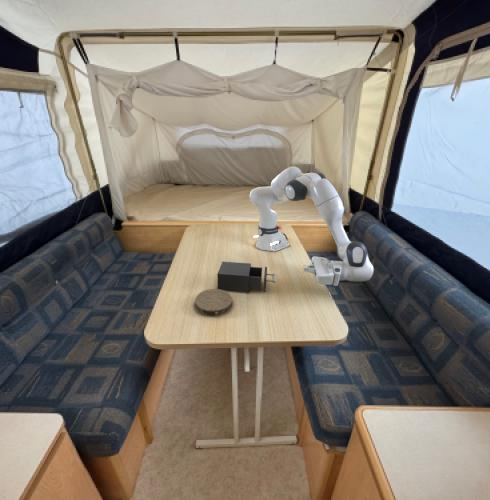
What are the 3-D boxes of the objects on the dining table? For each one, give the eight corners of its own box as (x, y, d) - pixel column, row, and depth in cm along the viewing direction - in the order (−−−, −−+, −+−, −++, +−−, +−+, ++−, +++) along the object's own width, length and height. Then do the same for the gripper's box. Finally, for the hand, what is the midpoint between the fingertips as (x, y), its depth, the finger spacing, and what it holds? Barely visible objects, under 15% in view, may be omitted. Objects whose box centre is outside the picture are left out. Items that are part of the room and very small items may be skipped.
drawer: (274, 280, 134) (275, 267, 131) (274, 292, 124) (275, 279, 121) (240, 277, 136) (240, 264, 133) (237, 289, 126) (237, 276, 123)
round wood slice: (235, 296, 122) (235, 291, 121) (226, 319, 108) (226, 313, 107) (202, 292, 125) (202, 286, 124) (189, 313, 111) (189, 307, 110)
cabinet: (250, 279, 137) (251, 263, 133) (248, 292, 125) (248, 276, 121) (222, 276, 138) (222, 261, 134) (217, 290, 127) (217, 273, 123)
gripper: (331, 254, 129) (302, 252, 131) (340, 275, 111) (306, 272, 112) (329, 265, 132) (301, 263, 133) (338, 288, 113) (305, 285, 115)
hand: (303, 268), depth 123 cm, fingers closed
